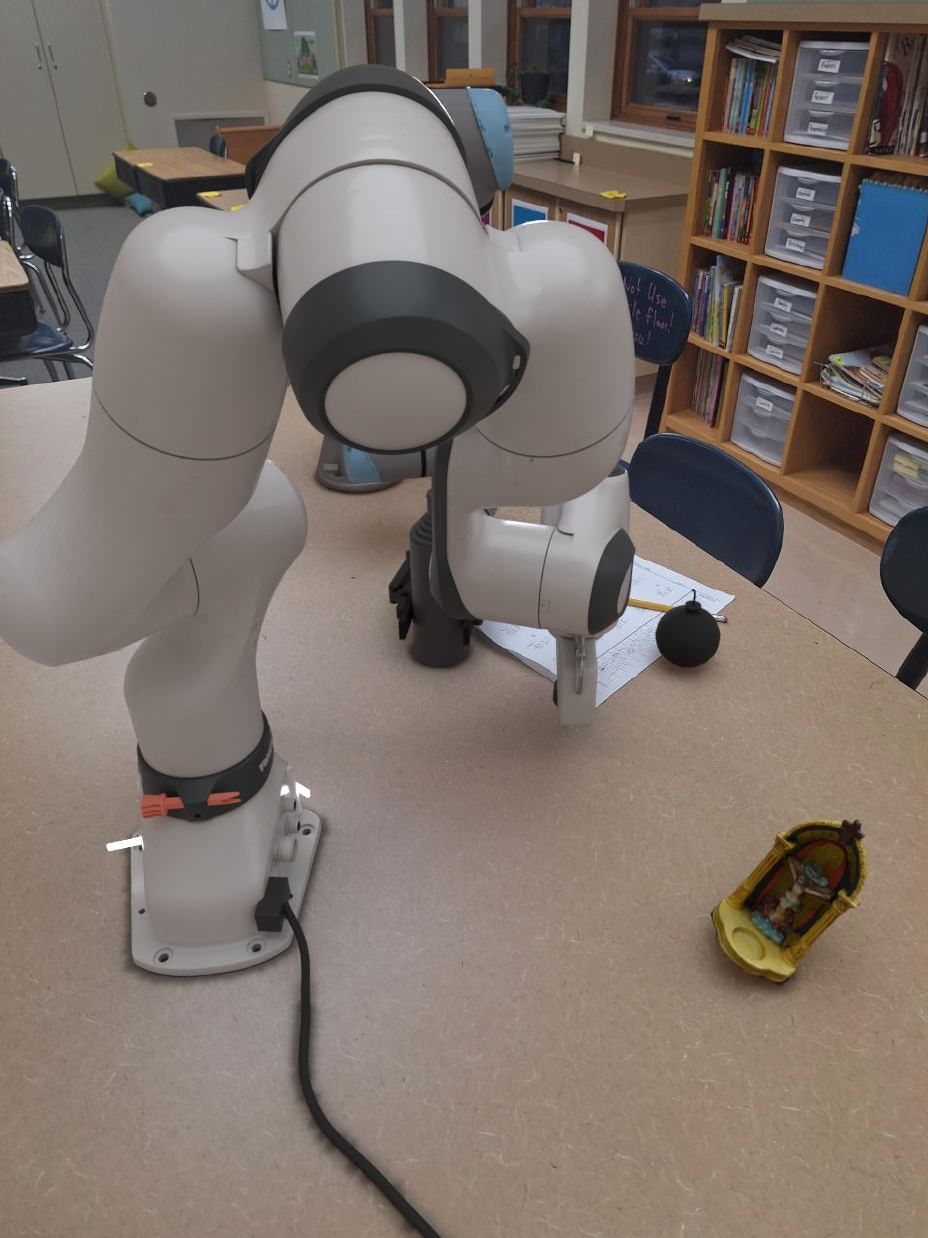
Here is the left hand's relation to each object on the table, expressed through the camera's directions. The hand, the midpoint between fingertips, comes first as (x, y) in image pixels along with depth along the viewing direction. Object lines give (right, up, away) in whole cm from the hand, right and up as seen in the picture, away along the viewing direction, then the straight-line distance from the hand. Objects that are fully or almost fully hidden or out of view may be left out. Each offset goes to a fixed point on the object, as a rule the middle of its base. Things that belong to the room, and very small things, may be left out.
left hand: (569, 701), depth 99 cm
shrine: (+15, -20, -22) cm, 33 cm away
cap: (0, +2, -1) cm, 2 cm away
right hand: (-16, +8, +6) cm, 19 cm away
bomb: (+16, +4, +12) cm, 20 cm away
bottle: (-15, +5, +14) cm, 21 cm away
